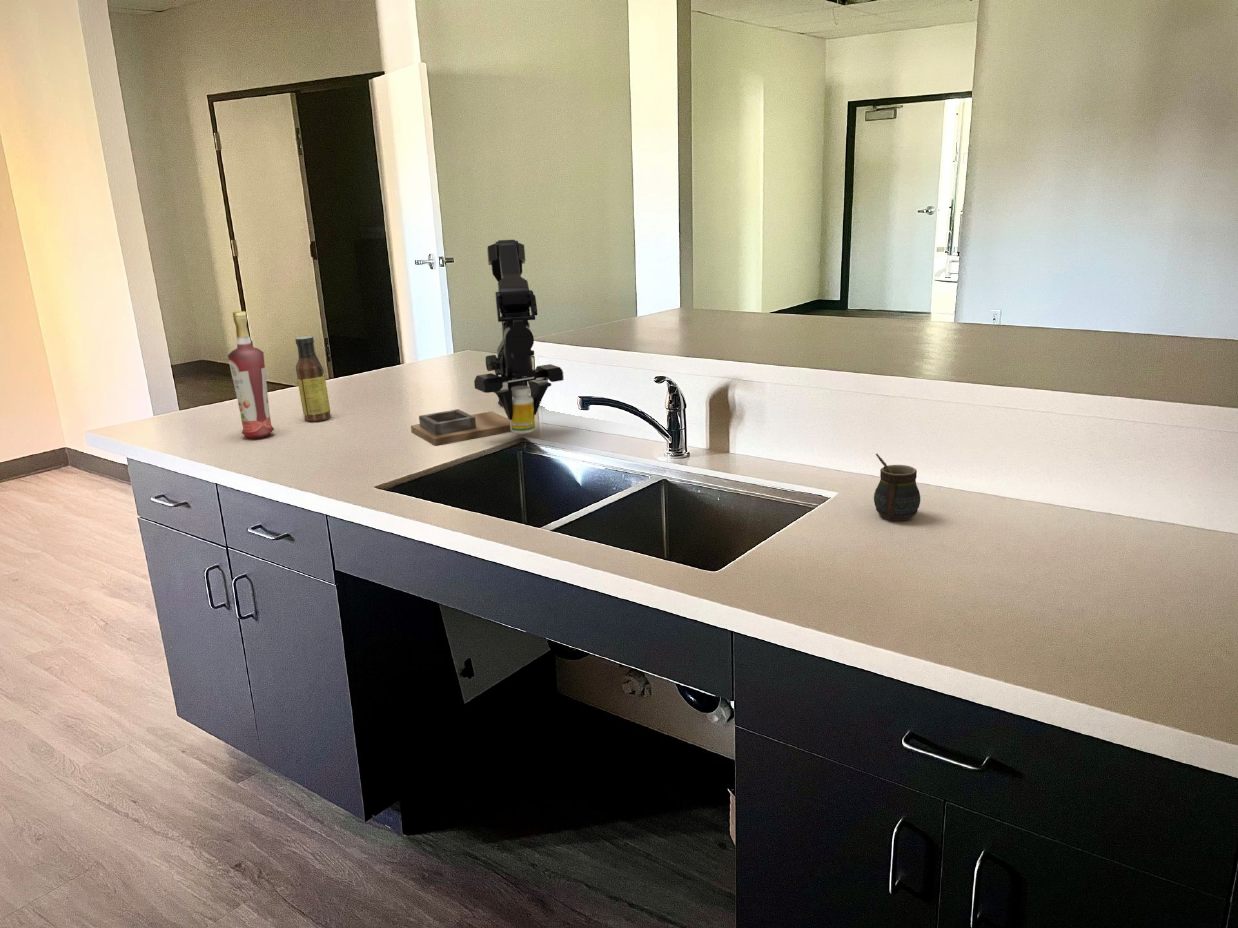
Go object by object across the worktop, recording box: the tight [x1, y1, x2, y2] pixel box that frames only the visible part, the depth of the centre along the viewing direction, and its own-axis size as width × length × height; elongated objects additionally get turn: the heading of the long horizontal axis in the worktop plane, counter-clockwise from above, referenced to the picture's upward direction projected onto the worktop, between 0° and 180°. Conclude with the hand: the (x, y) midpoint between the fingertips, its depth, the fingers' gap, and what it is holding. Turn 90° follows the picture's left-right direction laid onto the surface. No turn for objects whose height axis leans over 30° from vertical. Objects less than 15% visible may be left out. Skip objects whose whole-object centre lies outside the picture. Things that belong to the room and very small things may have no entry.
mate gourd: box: [873, 453, 921, 522], centre depth 144 cm, size 7×8×10 cm
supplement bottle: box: [510, 385, 536, 435], centre depth 194 cm, size 5×5×10 cm
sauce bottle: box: [294, 335, 331, 422], centre depth 214 cm, size 7×6×20 cm
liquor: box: [227, 310, 275, 440], centre depth 200 cm, size 7×7×28 cm
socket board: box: [410, 408, 512, 447], centre depth 202 cm, size 20×14×4 cm
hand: (522, 417), depth 195 cm, fingers closed on supplement bottle, 5 cm apart
